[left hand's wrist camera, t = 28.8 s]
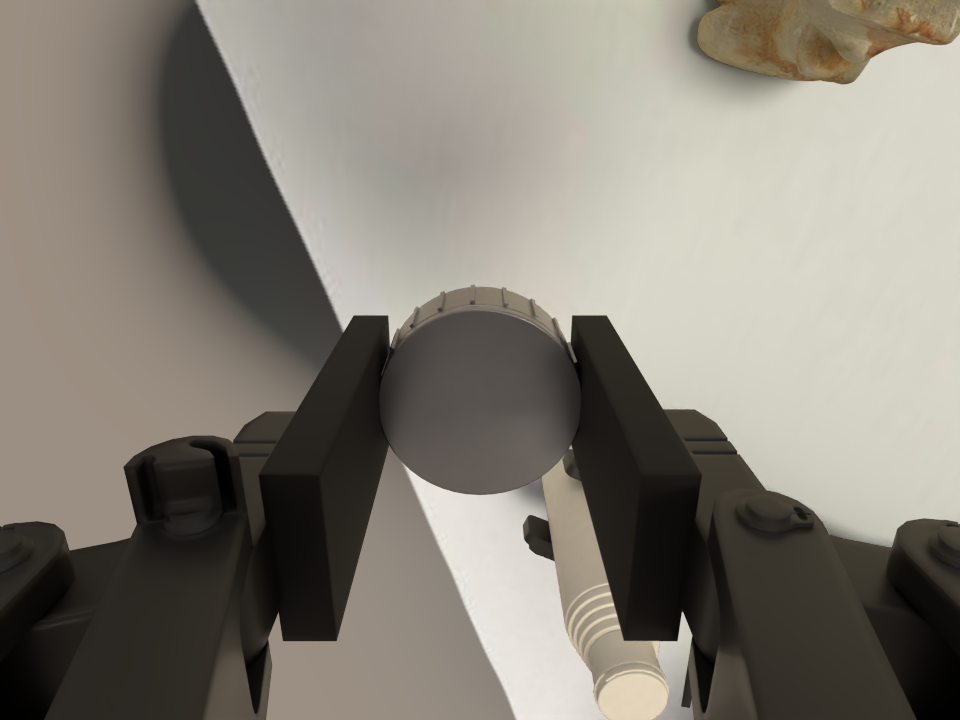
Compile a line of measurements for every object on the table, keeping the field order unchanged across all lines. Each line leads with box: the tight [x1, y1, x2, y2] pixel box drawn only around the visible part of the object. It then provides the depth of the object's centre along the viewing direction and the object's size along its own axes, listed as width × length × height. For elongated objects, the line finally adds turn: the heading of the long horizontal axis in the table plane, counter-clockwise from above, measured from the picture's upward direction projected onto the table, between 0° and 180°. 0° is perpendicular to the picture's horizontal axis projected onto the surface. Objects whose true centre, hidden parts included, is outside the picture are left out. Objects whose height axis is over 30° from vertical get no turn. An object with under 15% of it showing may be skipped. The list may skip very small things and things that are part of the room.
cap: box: [379, 285, 582, 495], centre depth 14 cm, size 4×4×2 cm
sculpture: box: [697, 0, 960, 84], centre depth 28 cm, size 6×7×15 cm
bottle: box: [541, 445, 669, 720], centre depth 36 cm, size 5×5×20 cm
